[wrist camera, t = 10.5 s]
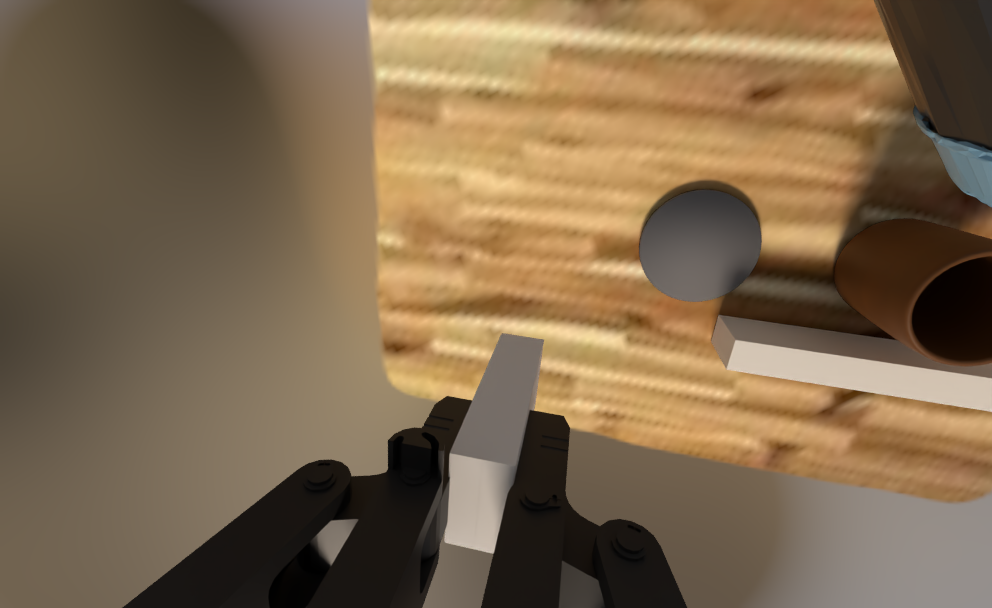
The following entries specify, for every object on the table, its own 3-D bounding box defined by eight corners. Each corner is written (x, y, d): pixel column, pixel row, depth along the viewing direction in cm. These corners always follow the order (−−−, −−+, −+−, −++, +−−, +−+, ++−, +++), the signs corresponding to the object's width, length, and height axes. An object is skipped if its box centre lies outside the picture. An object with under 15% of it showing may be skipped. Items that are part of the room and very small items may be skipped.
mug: (1034, 214, 32) (1195, 246, 24) (998, 315, 35) (1130, 377, 26) (840, 216, 35) (923, 246, 26) (820, 310, 37) (889, 366, 29)
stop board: (718, 314, 39) (735, 340, 34) (1018, 357, 36) (1080, 391, 31) (710, 341, 40) (726, 369, 35) (1002, 385, 37) (1060, 422, 32)
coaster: (651, 183, 36) (652, 184, 36) (774, 196, 35) (776, 197, 35) (629, 291, 40) (630, 293, 39) (740, 306, 38) (743, 309, 38)
